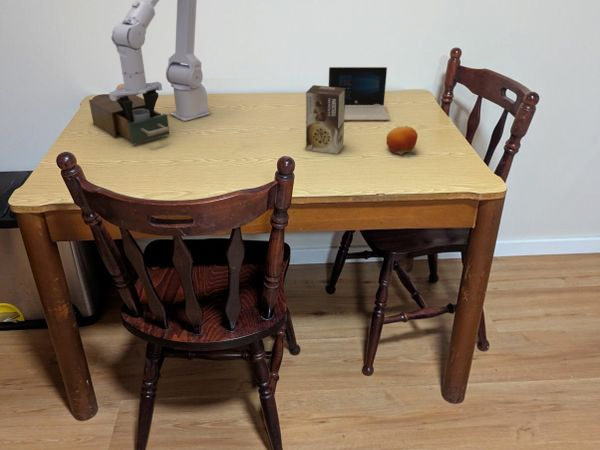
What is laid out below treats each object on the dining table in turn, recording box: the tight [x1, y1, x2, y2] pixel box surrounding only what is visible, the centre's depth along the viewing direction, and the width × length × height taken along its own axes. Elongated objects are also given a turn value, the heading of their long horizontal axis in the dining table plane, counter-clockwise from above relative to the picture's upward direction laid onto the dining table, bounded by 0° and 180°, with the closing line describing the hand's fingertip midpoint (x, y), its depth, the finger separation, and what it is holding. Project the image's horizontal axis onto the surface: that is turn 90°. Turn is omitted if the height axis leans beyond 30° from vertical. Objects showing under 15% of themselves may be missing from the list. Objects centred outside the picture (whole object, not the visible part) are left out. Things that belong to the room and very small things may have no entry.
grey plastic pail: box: [132, 109, 150, 122], centre depth 155 cm, size 5×5×4 cm
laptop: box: [328, 66, 390, 122], centre depth 171 cm, size 18×12×13 cm
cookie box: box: [305, 84, 346, 155], centre depth 147 cm, size 9×6×16 cm
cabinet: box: [88, 95, 146, 139], centre depth 163 cm, size 14×12×7 cm
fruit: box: [386, 125, 418, 156], centre depth 148 cm, size 8×8×8 cm
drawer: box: [114, 107, 170, 145], centre depth 155 cm, size 18×11×6 cm, turn 42°
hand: (140, 120), depth 155 cm, fingers closed on grey plastic pail, 5 cm apart
